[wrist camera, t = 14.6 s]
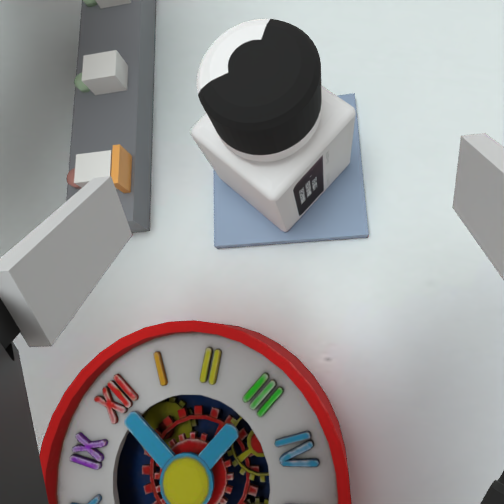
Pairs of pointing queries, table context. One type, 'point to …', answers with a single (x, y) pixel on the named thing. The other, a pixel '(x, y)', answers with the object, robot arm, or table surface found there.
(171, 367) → the toy clock
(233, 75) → the container
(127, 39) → the breaker panel
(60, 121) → the table surface
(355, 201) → the pad
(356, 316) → the table surface
